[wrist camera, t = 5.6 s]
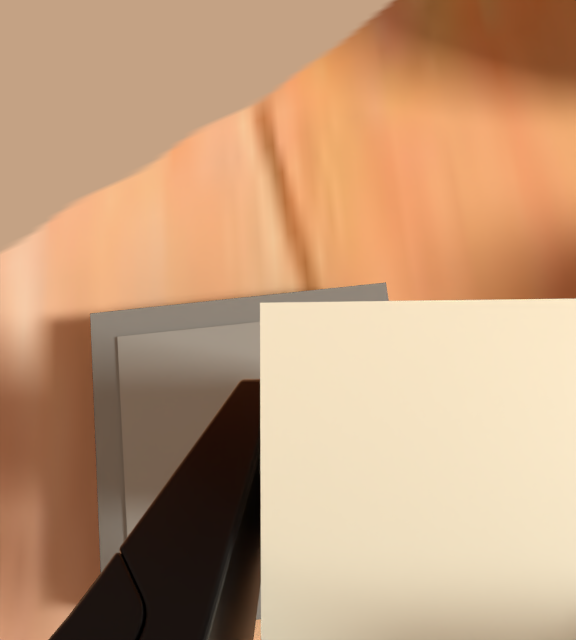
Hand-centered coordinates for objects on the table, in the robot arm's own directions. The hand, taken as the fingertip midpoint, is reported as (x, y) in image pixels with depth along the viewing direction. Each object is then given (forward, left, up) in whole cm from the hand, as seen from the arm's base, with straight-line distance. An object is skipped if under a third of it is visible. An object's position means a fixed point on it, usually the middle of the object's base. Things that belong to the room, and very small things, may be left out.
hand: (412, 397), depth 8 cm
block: (-1, -1, -7) cm, 7 cm away
